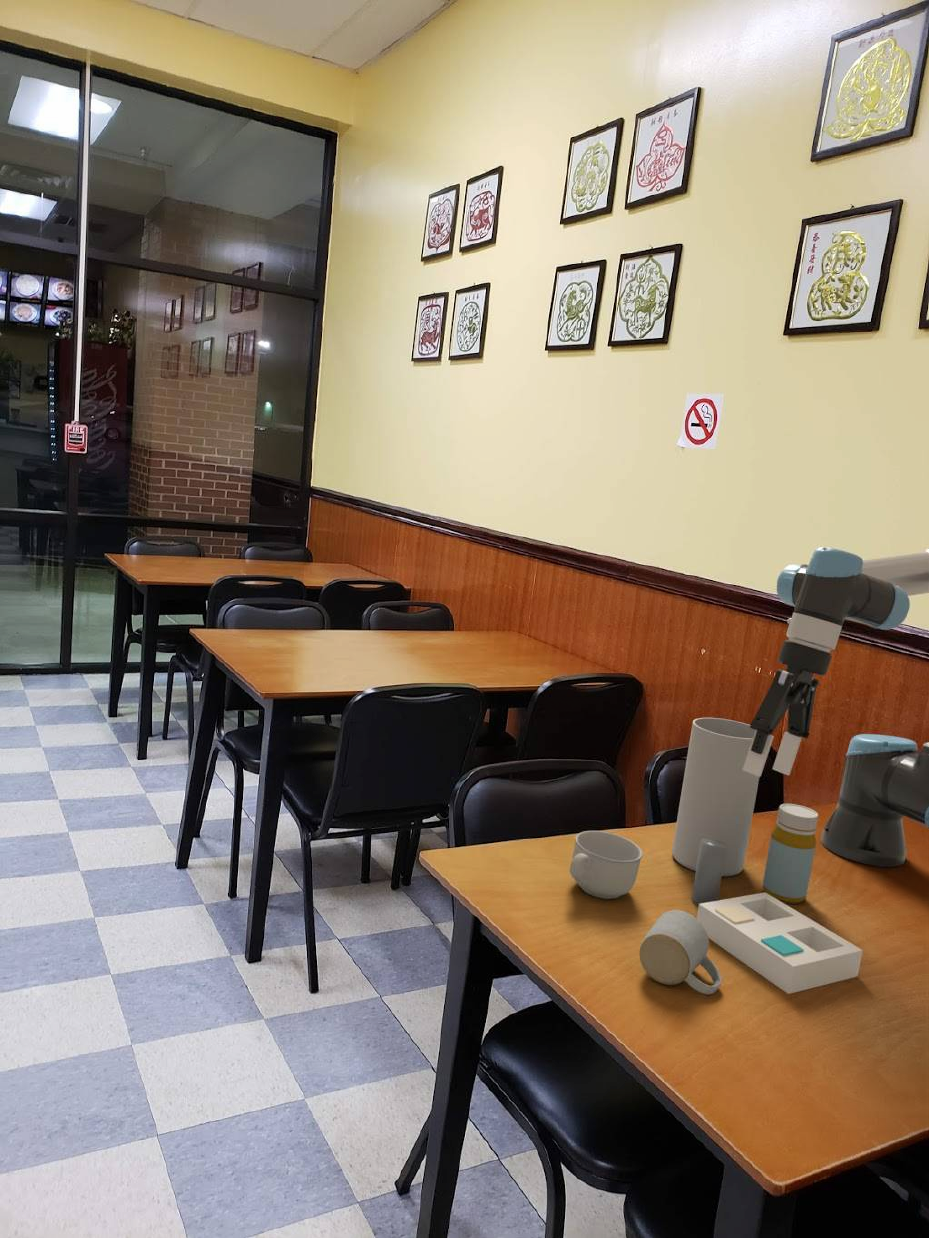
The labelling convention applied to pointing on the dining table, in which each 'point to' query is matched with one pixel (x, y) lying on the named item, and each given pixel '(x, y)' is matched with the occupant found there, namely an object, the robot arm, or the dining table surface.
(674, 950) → the ceramic mug
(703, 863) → the plug
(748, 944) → the socket block
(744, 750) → the cylinder vase
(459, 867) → the dining table surface
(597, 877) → the teacup
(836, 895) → the dining table surface
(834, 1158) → the dining table surface
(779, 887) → the bottle
